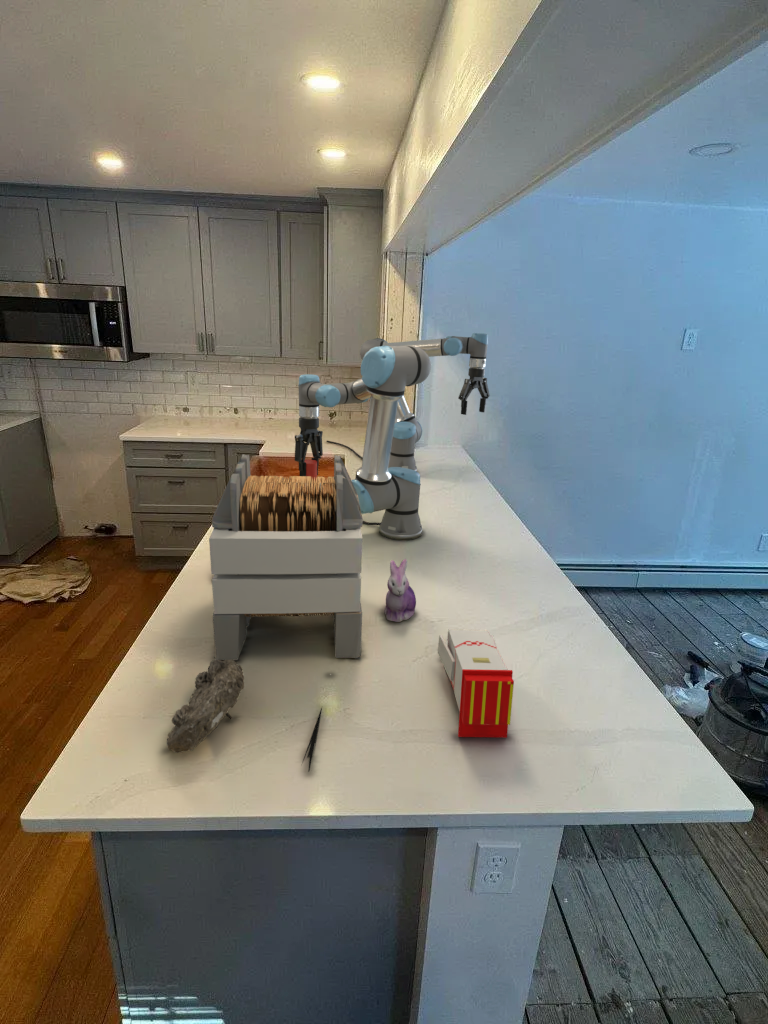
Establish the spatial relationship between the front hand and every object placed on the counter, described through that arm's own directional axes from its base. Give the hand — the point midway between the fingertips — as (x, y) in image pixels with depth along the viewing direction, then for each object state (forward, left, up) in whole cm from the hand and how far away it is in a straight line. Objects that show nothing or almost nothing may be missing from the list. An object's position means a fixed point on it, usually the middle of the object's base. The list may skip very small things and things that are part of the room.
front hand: (308, 476), depth 219 cm
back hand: (0, +94, +17) cm, 95 cm away
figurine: (+84, -27, -12) cm, 89 cm away
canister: (0, 0, -3) cm, 3 cm away
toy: (+116, -37, -12) cm, 122 cm away
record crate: (+70, -52, -12) cm, 88 cm away
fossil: (+91, -82, -12) cm, 123 cm away
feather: (+104, -66, -12) cm, 124 cm away
